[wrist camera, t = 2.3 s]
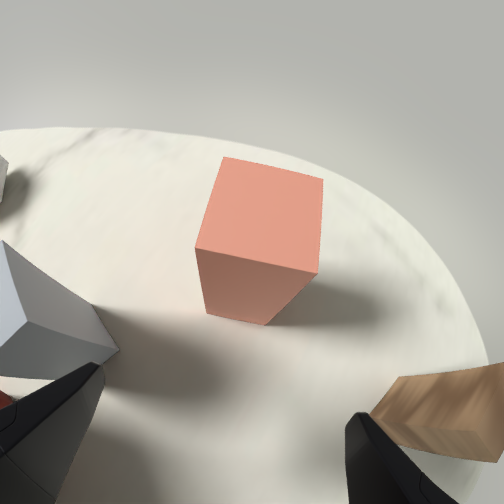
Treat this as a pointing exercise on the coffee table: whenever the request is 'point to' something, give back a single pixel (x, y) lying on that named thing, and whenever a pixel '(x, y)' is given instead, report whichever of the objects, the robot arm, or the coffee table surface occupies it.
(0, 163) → the die
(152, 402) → the coffee table surface
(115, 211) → the coffee table surface
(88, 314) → the slate pillar
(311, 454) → the coffee table surface
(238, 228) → the salmon block
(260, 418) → the coffee table surface
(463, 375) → the walnut pillar
